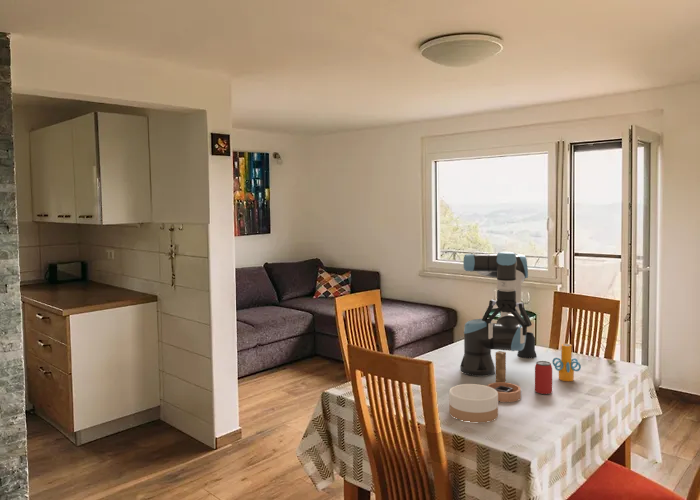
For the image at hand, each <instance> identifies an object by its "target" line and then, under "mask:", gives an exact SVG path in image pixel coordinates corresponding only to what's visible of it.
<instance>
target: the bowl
mask: <svg viewBox="0 0 700 500" xmlns="http://www.w3.org/2000/svg"><path fill="white" fill-rule="evenodd" d="M448 392H449V393H448V395H449V396H448V397H449V399H448V400H449V403H448V404H449V415H450V414H451V415H452V416H453V417H455V418H457V419H460V420H463V421H462V422H464V421H470V422H485V423H488V422H487V421H490V422H493V421H495V420H496V419H497V418H498V415H499V401H498V392H497V391H496V390H495V389H493V388H491V387H488V386H487V385H483V384H479V383H477V384H476V383H461V384H457V385H454V386H452V387H450V389H449V391H448ZM451 415H450V416H451ZM452 416H451V417H452ZM453 417H452V418H453ZM455 418H454V419H455ZM457 419H456V420H457ZM494 419H495V420H494ZM460 420H459V421H460ZM492 420H493V421H492Z"/></svg>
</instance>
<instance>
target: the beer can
mask: <svg viewBox="0 0 700 500" xmlns="http://www.w3.org/2000/svg"><path fill="white" fill-rule="evenodd" d="M534 391H535V393H537V394H539V395H550V394H552V393H553V366H552V362H550V361H548V360H547V361H546V360H537V361H536V362H535V365H534Z"/></svg>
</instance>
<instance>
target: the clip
mask: <svg viewBox="0 0 700 500" xmlns="http://www.w3.org/2000/svg"><path fill="white" fill-rule="evenodd" d="M495 390H496V391H498V392H508V393H509V392H513V388H510V387H505V386H499V387H497V388H495Z"/></svg>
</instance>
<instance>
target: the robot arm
mask: <svg viewBox="0 0 700 500" xmlns="http://www.w3.org/2000/svg"><path fill="white" fill-rule="evenodd" d="M462 265H463V270H464V271H465V272H476V273H478V274H479V275H481V276H484V277H489V278H494V279H495V278H496V289H497V290H496V300H495V299H490V300H489V303H488V307H487V309H486V311H485V313H484V315H483V316H482V318H476V319H471V320H467V322H465V323H464V326H463V327H464V329H463V338H464V339H463V342H464V344H463V345H464V347H463V348H464V349H463V350H464V354H463V357H462V359H461V363H460V366H459V367H460V370H459V371H460V372H461V373H462V372H463V374H465V375H468V376H473V377H474V376H476V377H485V376H492V375H493V374H495V373H496V365H495V363H494V360H493V357H492V355H491V354H492V350H493V351H494V350H498V351H511V352H518V351H521V350H523V349H524V346H525V341H526V334H527V332H528V328H530V327H531V326H532V321H531V319H530V317H529V315H528V313H527V311H526V309H525V304H524V302H522V299H521V298H522V284H523V283H524V281H525V279H528V277H529V269H528V260H527V257H526V255H524V254H520V253H519V254H518V253H515V252H512V251H499V252H497V253H494V254H493V253H492V254H491V253H489V254H487V253H486V254H484V253H465V254H464V255H463V264H462ZM494 306H497V308H496V309H495V310H494V311H493V312H492V310H493V308H494ZM491 312H492V314H491ZM499 313H500V317H498V318H497V320H496V323H495V322H492V321H493V320H494V319H495V318H496V316H497V315H498V314H499ZM490 314H491V315H490Z"/></svg>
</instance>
